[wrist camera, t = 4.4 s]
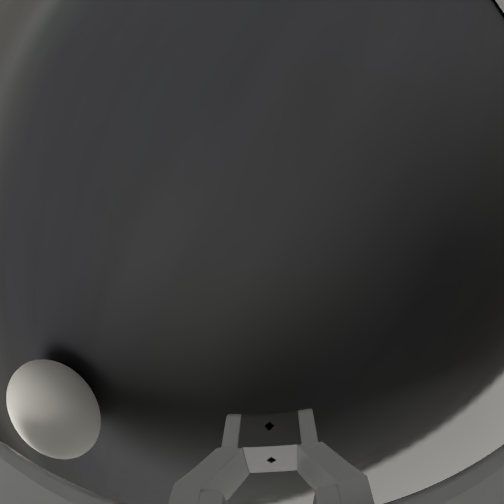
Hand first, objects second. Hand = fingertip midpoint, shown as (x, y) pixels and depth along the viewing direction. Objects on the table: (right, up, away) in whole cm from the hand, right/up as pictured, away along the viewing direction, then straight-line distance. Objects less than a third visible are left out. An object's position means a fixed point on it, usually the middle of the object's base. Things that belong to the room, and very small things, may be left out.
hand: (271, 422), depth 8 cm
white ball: (-10, -1, 0) cm, 10 cm away
